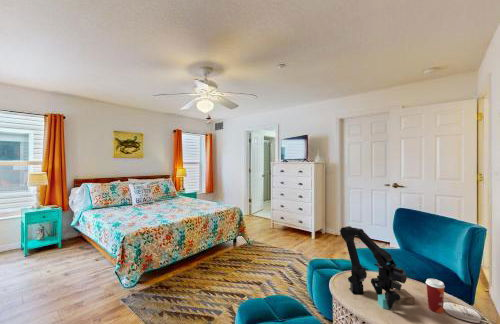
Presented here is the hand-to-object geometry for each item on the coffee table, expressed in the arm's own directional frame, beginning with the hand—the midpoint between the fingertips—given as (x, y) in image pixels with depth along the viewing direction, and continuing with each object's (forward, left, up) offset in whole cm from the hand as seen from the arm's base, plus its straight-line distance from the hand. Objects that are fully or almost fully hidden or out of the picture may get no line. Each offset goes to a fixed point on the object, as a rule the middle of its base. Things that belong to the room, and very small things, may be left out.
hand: (384, 304), depth 130 cm
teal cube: (0, 0, -1) cm, 1 cm away
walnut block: (+13, +6, -1) cm, 14 cm away
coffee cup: (+25, -4, -1) cm, 25 cm away
